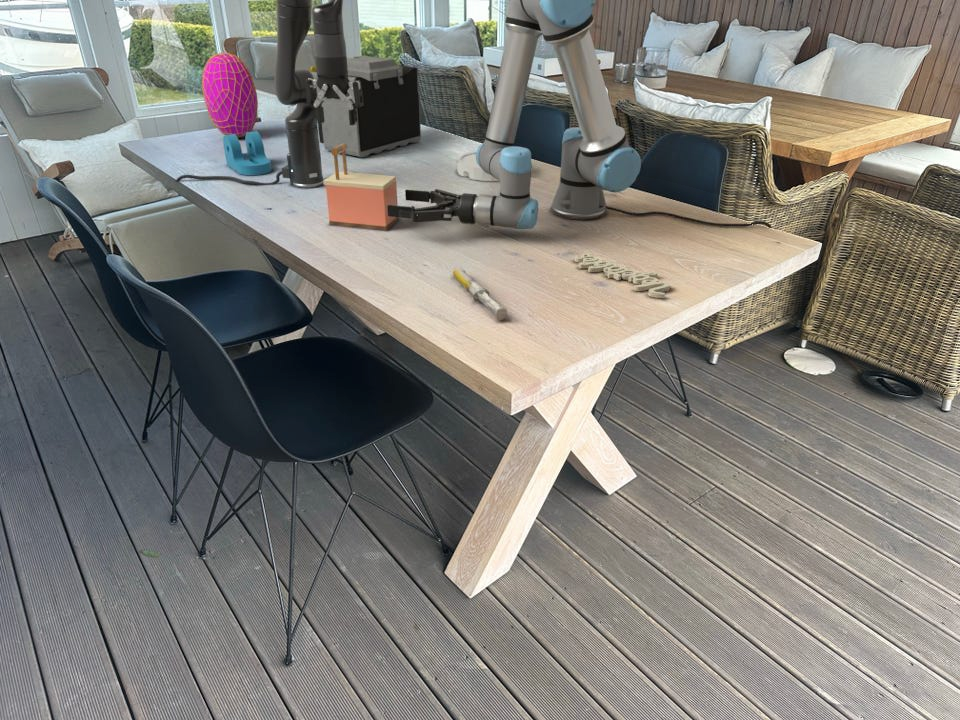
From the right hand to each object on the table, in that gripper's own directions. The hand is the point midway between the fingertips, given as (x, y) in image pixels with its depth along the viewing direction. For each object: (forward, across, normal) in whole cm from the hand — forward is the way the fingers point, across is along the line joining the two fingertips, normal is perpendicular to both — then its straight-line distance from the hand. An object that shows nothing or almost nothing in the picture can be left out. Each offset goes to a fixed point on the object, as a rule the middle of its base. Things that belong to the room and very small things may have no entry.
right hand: (397, 202), depth 178 cm
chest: (+10, +1, -7) cm, 12 cm away
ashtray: (-12, +60, -7) cm, 61 cm away
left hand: (+16, +2, +18) cm, 24 cm away
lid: (+10, +1, +4) cm, 11 cm away
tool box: (+40, +82, -7) cm, 91 cm away
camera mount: (+66, +41, -7) cm, 78 cm away
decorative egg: (+95, +80, -7) cm, 125 cm away
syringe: (-31, -36, -7) cm, 48 cm away
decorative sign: (-60, -17, -7) cm, 63 cm away
